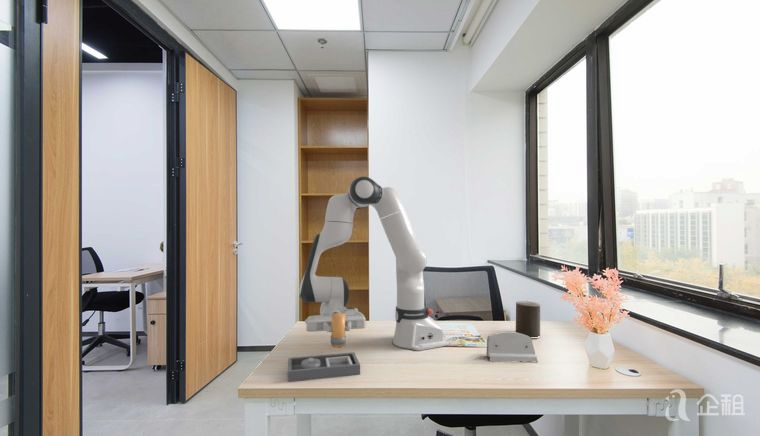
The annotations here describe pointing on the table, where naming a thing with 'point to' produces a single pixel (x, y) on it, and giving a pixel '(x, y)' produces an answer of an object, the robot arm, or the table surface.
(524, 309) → the pillar candle
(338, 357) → the dark grey sorting tray
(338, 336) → the wooden handle stamp
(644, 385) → the table surface
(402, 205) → the robot arm
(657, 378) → the table surface
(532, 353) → the hinge
